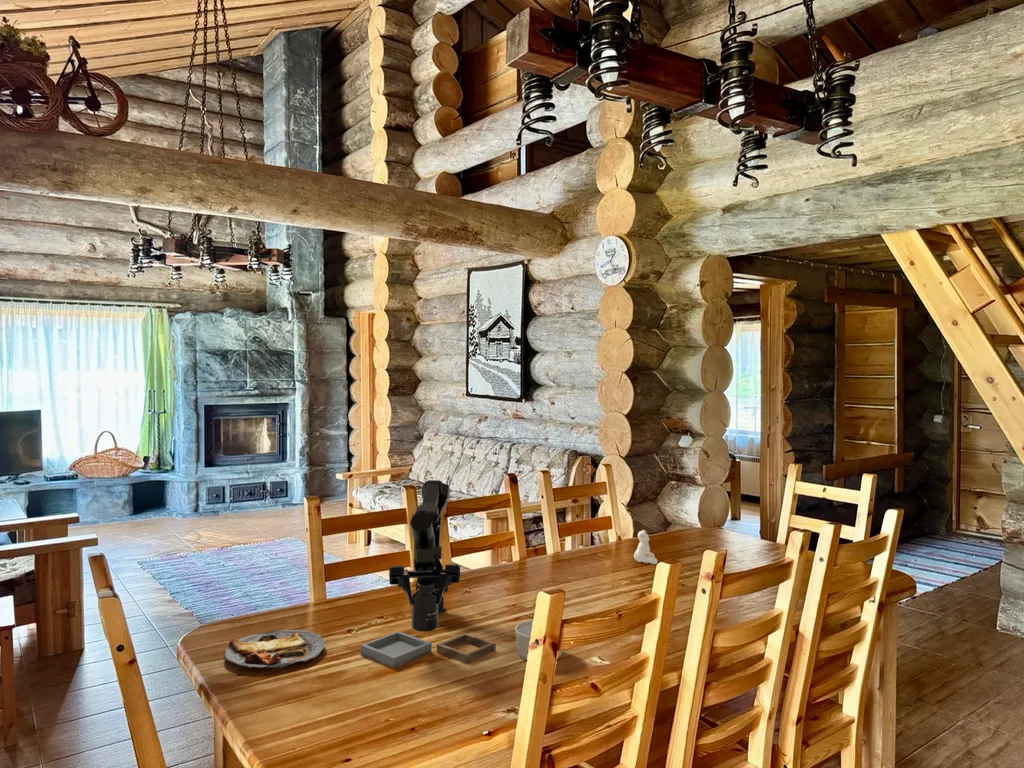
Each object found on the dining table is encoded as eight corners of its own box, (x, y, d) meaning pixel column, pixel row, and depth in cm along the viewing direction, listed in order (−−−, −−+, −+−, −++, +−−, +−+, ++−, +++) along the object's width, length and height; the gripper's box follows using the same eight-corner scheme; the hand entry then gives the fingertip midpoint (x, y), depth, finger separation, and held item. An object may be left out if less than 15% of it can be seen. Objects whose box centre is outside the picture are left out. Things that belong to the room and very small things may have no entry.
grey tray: (360, 654, 191) (360, 644, 191) (397, 639, 201) (397, 630, 201) (394, 668, 183) (394, 658, 183) (431, 652, 193) (431, 642, 193)
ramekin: (570, 649, 197) (571, 623, 197) (557, 668, 184) (557, 641, 184) (523, 642, 201) (524, 617, 201) (507, 660, 189) (508, 634, 188)
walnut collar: (436, 652, 193) (436, 644, 193) (465, 640, 202) (465, 632, 202) (467, 663, 187) (467, 655, 186) (495, 650, 195) (495, 642, 195)
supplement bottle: (434, 633, 189) (434, 587, 188) (408, 631, 190) (408, 585, 190) (441, 623, 196) (441, 579, 195) (416, 621, 197) (416, 577, 196)
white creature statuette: (658, 565, 278) (659, 533, 278) (635, 564, 279) (636, 533, 278) (653, 558, 288) (654, 527, 288) (631, 557, 288) (632, 527, 288)
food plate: (228, 680, 175) (229, 665, 175) (218, 646, 196) (218, 633, 196) (333, 664, 187) (334, 650, 187) (313, 634, 207) (313, 621, 207)
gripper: (389, 536, 195) (388, 590, 184) (460, 534, 197) (462, 588, 187) (390, 557, 203) (388, 610, 192) (457, 555, 205) (460, 608, 195)
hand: (425, 604), depth 191 cm, fingers closed on supplement bottle, 7 cm apart
